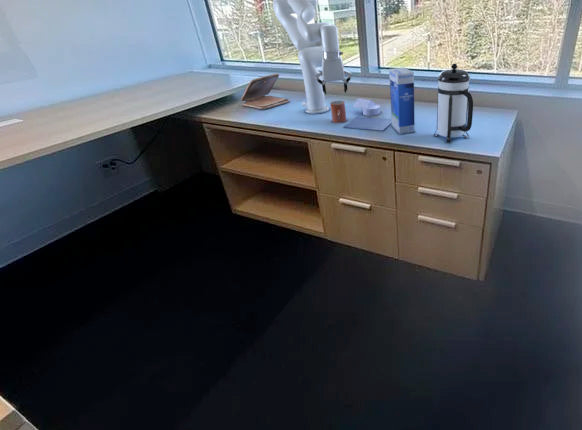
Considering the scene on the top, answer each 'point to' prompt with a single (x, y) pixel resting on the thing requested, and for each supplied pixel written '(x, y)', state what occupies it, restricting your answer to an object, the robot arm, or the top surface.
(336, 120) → the mug
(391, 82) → the string lights box
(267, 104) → the case
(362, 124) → the blue rectangular mat
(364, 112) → the wedge on round base
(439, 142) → the top surface
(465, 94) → the coffee press
